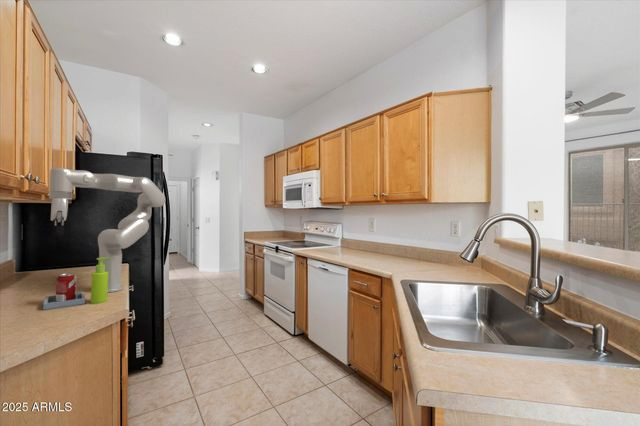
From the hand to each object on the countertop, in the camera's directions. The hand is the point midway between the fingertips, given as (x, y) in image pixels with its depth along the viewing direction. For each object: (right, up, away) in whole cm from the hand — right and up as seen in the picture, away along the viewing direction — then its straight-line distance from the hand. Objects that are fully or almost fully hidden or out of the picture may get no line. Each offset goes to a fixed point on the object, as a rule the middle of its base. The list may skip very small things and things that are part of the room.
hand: (59, 233), depth 126 cm
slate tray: (+4, -31, -2) cm, 31 cm away
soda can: (+4, -30, -1) cm, 30 cm away
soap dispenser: (+17, -31, +2) cm, 36 cm away
